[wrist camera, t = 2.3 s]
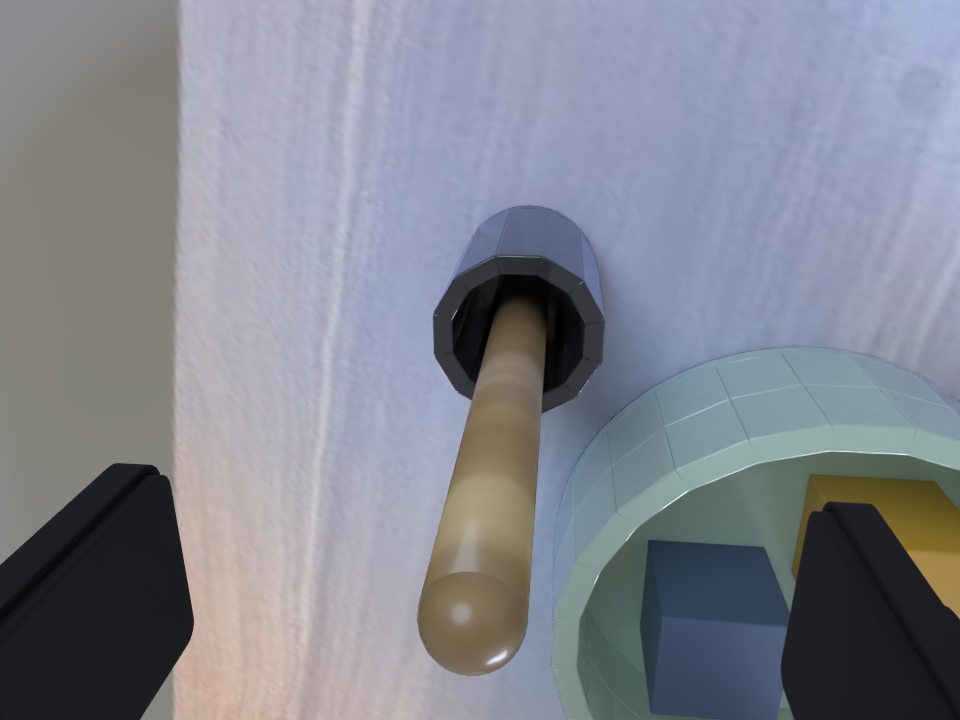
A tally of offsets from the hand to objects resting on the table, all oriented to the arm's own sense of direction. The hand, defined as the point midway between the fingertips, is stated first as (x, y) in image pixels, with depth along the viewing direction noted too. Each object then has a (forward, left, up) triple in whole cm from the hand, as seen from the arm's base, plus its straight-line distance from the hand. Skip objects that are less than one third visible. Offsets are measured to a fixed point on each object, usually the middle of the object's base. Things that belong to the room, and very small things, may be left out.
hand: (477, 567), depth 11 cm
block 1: (+11, +7, -14) cm, 19 cm away
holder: (0, 0, -14) cm, 14 cm away
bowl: (+10, +9, -14) cm, 20 cm away
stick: (0, 0, -14) cm, 14 cm away
